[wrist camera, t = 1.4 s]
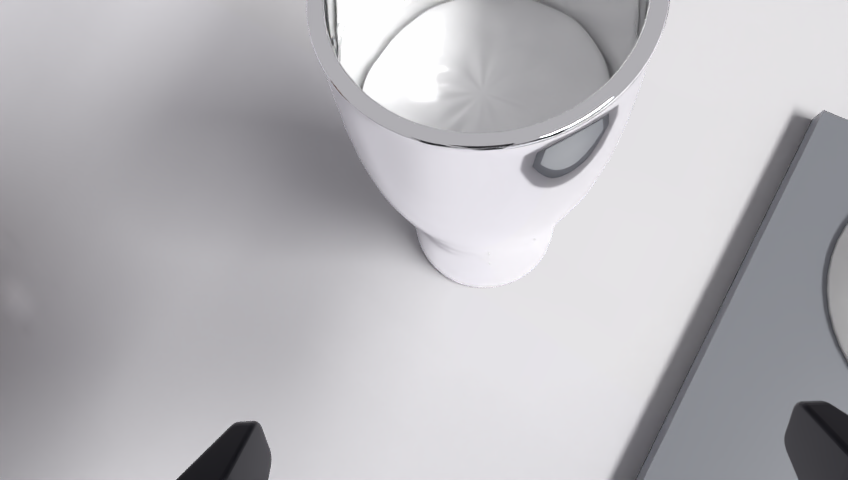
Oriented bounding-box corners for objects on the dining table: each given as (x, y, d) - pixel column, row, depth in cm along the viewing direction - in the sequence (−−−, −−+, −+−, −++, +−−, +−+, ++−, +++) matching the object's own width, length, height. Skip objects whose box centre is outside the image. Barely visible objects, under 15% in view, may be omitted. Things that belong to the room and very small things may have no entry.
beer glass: (375, 231, 25) (219, 14, 10) (474, 121, 25) (460, -222, 11) (494, 332, 23) (509, 245, 8) (596, 211, 24) (769, -57, 9)
